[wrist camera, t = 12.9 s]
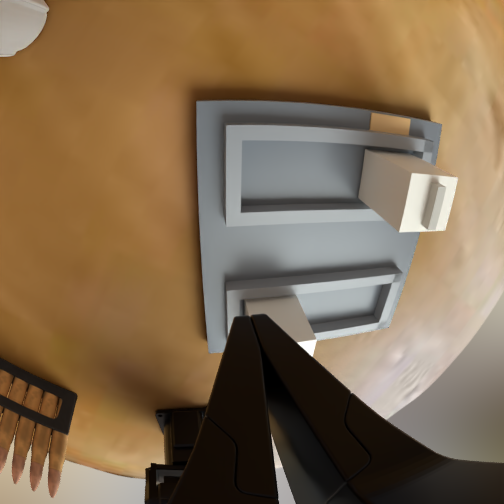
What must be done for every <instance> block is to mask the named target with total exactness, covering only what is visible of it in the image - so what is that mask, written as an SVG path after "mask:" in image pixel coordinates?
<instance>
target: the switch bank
mask: <svg viewBox="0 0 504 504" xmlns="http://www.w3.org/2000/svg"><path fill="white" fill-rule="evenodd" d="M441 128H442V124H439V123H436V122H433V121H429V120H424V119H419V118H415V117H410V116H404V115H399V114H394V113H388V112H382V111H376V110H369V109H362V108H355V107H347V106H338V105H329V104H319V103H307V102H292V101H273V100H196V130H197V177H198V205H199V227H200V246H201V263H202V278H203V292H204V305H205V318H206V329H207V340H208V350H209V353H219V352H224V349H225V345H226V342H227V338H228V335H229V332H230V328H231V325H232V322H233V318H234V317H235V316H243V315H244V299H255V298H266V297H276V296H287V295H296V296H297V298H298V300H299V302H300V304H301V307H302V309H303V311H304V313H305V315H306V317H307V320H308V322H309V324H310V326H311V328H312V330H313V333H314V335H315V337H316V339H317V340H316V341H318V340H324V339H331V338H336V337H342V336H348V335H353V334H359V333H364V332H369V331H374V330H379V329H384V328H389V325H390V322H391V320H392V317H393V315H394V312H395V309H396V306H397V304H398V301H399V298H400V295H401V292H402V289H403V287H404V284H405V281H406V277H407V274H408V271H409V268H410V265H411V262H412V258H413V255H414V252H415V248H416V245H417V241H418V238H419V234H420V232H398V231H397V230H396V229H395V228H393V227H392V226H391V225H390V224H389V223H388V222H386V221H385V220H384V219H383V218H382V217H381V216H379V215H378V214H377V213H376V212H375V211H373V210H372V209H371V208H370V207H369V206H367V205H366V204H365V203H364V202H362V201H361V200H360V199H359V198H358V196H359V189H360V183H361V176H362V169H363V162H364V154H365V149H371V150H382V151H392V152H401V153H409V154H412V155H414V156H416V157H418V158H420V159H422V160H424V161H426V162H428V163H431V164H433V165H435V164H436V159H437V153H438V147H439V141H440V135H441Z"/></svg>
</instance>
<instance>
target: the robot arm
mask: <svg viewBox="0 0 504 504" xmlns="http://www.w3.org/2000/svg"><path fill="white" fill-rule="evenodd" d="M156 418H157V421H158V423H159V425H160V428H161V430H162V432H163V434H164V453H165V465H164V464H156V463H151V467H150V468H146V469H145V471H146V486H145V504H279V501H278V490H277V481H276V472H275V464H274V455H273V447H272V438H271V434H272V437H273V440H274V443H275V446H276V449H277V452H278V455H279V457H280V460H281V463H282V466H283V469H284V472H285V475H286V478H287V480H288V483H289V486H290V489H291V492H292V494H293V497H294V500H295V502H296V504H504V463H495V462H479V461H467V460H458V459H453V458H449V457H446V456H442V455H441V454H438V453H436V452H434V451H433V450H431V449H429V448H427V447H426V446H425V445H423V444H421V443H420V442H418V441H417V440H415V439H414V438H412V437H410V436H409V435H407V434H406V433H404V432H403V431H401V430H400V429H398V428H397V427H395V426H394V425H392V424H391V423H390V422H388V421H387V420H385V419H384V418H383V417H381V416H380V415H379V414H377V413H376V412H375V411H374V410H372V409H371V408H370V407H369V406H367V405H366V404H365V403H364V402H363V401H361V400H360V399H359V398H358V397H357V396H356V395H355V394H353V393H351V391H350V390H349V389H348V388H347V387H345V386H344V385H343V384H342V383H341V382H340V381H339V380H338V379H336V378H335V377H334V376H333V375H332V374H331V373H330V372H329V371H328V370H326V369H325V368H324V367H323V366H322V365H321V364H320V363H319V362H318V361H316V360H315V359H314V358H313V357H312V356H311V355H310V354H309V353H308V352H307V351H306V350H304V349H303V348H302V347H301V346H300V345H299V344H298V343H297V342H296V341H295V340H294V339H293V338H291V337H290V336H289V335H288V334H287V333H286V332H285V331H284V330H283V329H282V328H281V327H280V326H279V325H277V324H276V323H275V322H274V321H273V320H272V319H271V318H270V317H269V316H268V315H267V314H253V315H251V316H248V315H243V316H235V317H234V318H233V322H232V325H231V328H230V332H229V335H228V338H227V342H226V345H225V349H224V352H223V355H222V359H221V362H220V365H219V369H218V372H217V375H216V379H215V382H214V385H213V389H212V392H211V395H210V399H209V402H208V406H207V408H196V409H179V410H157V411H156ZM159 482H162V483H159Z"/></svg>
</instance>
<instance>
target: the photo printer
mask: <svg viewBox="0 0 504 504" xmlns="http://www.w3.org/2000/svg"><path fill="white" fill-rule="evenodd" d="M48 11H49V7H48V6H47V4H46V3H45V1H44V0H0V57H10V56H14V55H15V54H16V52H17V51H20V50H22V49H24V48H26V47H27V46H28V45H30V44H31V43H32V42H33V41H34V40H35V39H36V37H37V36H38V35H39V33H40V32H41V30H42V28H43V26H44V24H45V22H46V18H47V14H46V13H47V12H48Z"/></svg>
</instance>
